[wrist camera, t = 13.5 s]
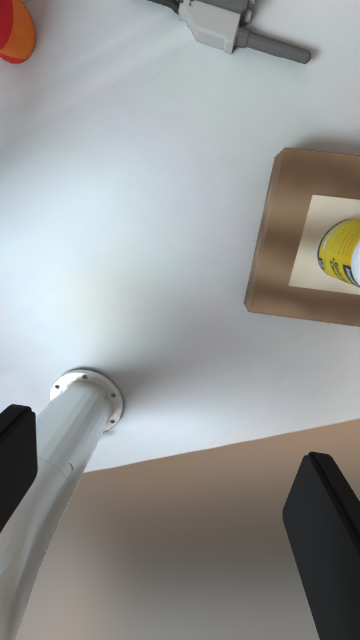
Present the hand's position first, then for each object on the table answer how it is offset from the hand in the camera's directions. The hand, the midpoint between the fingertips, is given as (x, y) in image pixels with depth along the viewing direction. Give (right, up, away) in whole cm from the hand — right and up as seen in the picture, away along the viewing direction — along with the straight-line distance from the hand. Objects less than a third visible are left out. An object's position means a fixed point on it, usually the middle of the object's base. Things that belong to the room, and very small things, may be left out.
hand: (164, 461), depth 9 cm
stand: (+20, +14, +24) cm, 34 cm away
